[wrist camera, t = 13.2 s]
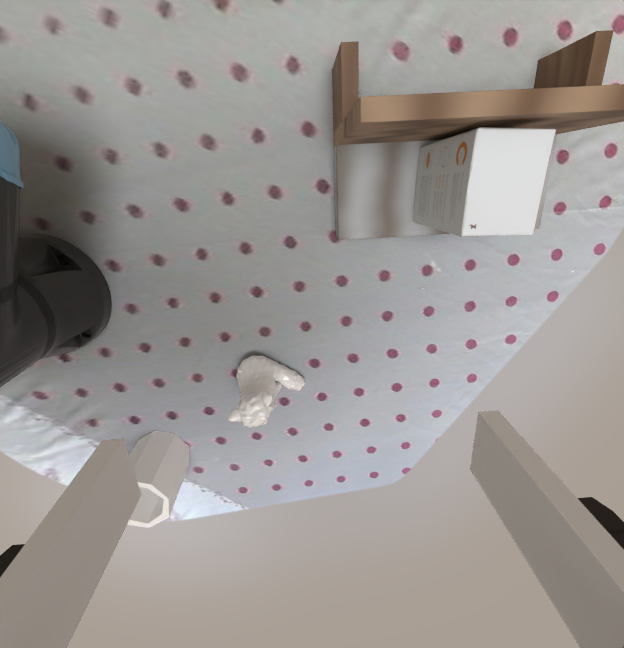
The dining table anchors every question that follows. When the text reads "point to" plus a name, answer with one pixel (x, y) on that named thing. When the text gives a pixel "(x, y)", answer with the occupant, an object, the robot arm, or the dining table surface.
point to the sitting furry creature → (261, 389)
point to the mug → (158, 475)
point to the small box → (483, 181)
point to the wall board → (449, 130)
